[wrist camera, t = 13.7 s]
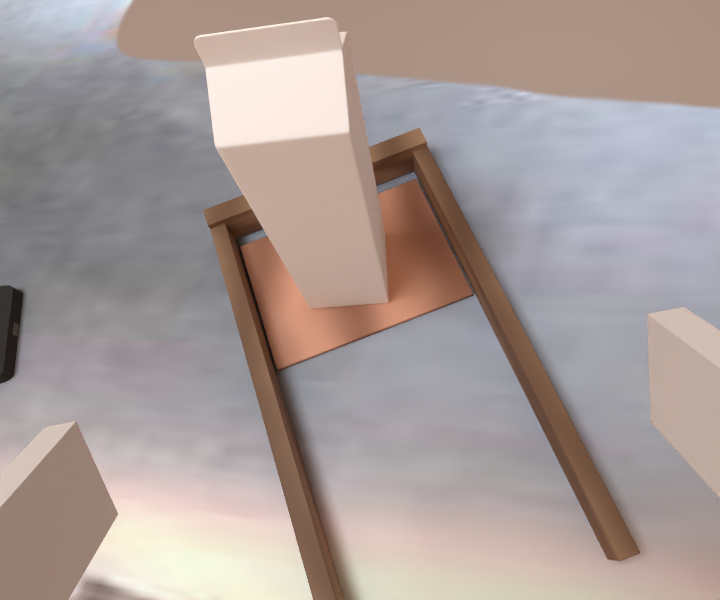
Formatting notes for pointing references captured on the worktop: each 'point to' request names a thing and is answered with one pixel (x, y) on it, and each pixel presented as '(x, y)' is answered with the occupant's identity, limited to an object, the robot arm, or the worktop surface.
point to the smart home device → (9, 329)
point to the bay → (406, 301)
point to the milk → (301, 153)
